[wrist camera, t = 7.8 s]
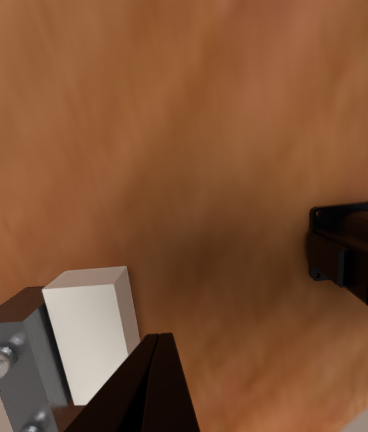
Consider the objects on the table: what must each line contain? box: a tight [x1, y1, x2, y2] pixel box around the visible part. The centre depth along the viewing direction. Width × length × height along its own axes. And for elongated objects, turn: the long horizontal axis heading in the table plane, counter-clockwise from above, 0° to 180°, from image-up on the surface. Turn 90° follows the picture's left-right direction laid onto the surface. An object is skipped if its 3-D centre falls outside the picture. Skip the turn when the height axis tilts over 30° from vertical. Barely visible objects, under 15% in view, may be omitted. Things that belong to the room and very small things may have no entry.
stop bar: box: [0, 286, 86, 432], centre depth 19 cm, size 4×14×6 cm, turn 7°
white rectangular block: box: [42, 266, 140, 405], centre depth 20 cm, size 6×12×4 cm, turn 6°
